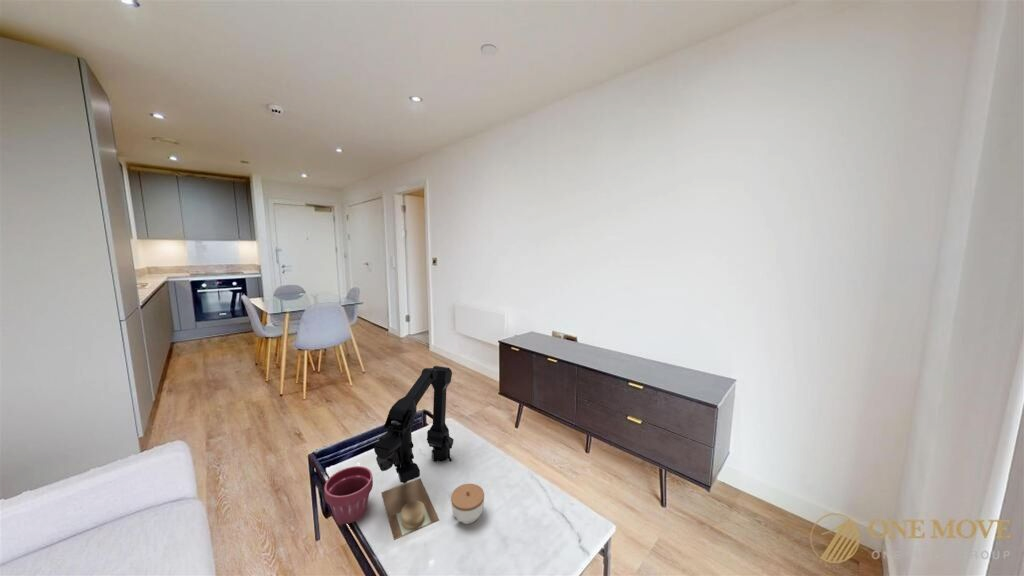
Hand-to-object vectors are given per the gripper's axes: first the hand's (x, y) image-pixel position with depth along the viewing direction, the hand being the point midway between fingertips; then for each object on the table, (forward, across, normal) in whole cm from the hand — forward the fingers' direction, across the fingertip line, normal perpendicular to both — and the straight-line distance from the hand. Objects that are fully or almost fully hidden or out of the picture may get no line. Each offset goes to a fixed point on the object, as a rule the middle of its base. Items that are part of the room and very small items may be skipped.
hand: (404, 482), depth 115 cm
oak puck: (+6, +11, 0) cm, 12 cm away
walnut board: (+7, +4, 0) cm, 8 cm away
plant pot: (+8, -3, -17) cm, 19 cm away
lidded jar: (+8, +17, +16) cm, 25 cm away
